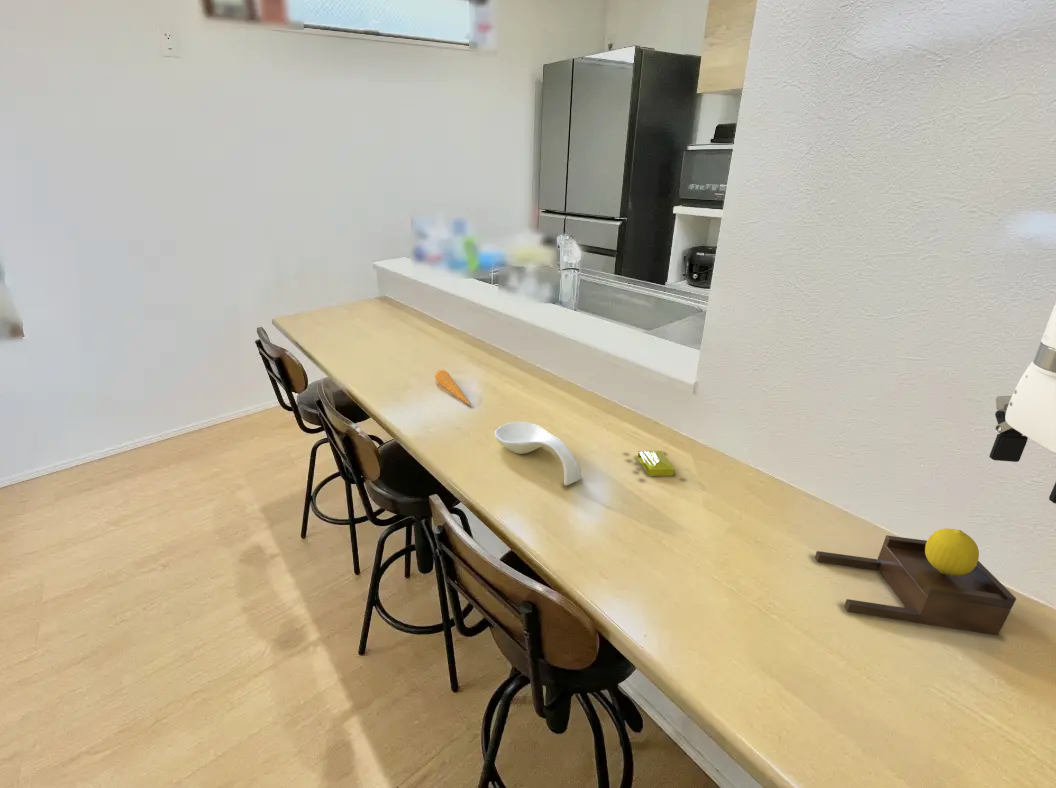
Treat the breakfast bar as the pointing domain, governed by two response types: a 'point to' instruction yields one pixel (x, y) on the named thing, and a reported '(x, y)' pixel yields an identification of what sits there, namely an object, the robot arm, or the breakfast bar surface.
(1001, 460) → the robot arm
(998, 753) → the breakfast bar surface
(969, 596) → the brown wooden wheelbarrow
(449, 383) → the carrot
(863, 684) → the breakfast bar surface
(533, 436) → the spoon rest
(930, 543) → the lemon
